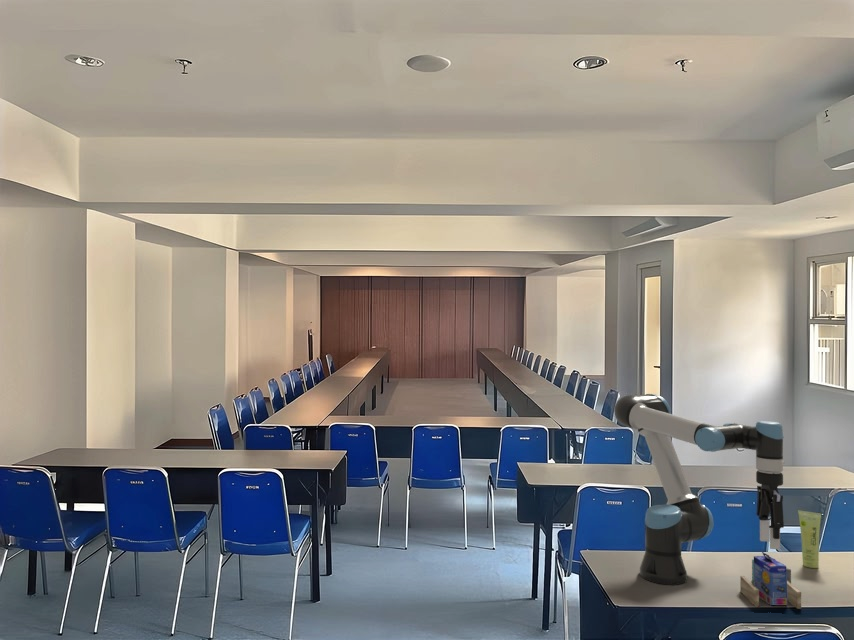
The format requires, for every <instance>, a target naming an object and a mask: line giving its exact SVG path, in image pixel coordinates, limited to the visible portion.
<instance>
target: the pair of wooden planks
mask: <svg viewBox="0 0 854 640" xmlns="http://www.w3.org/2000/svg"><path fill="white" fill-rule="evenodd" d="M739 581H740V588H739V589H740V590H739V591H740V593H741V594H742V595H743V596H744V597H745V598H746V599H747V600H748V601H749V602H750V603H751V604H752V605H753V604H754V605H755V606H754V605H753V606H754V607H758V606H759V607H760V597H759V589H758V588H756V587H755V586H754V583H753V582H751V581H750V580H749V579H748V578H747V577H746V576H745V575H740V580H739ZM787 597H788V602H789V601H790V602H791V603H792V604H791V603H790V602H789V603H790V604H791V605H792V606H794V605H795V606H794V607H795V608H796V609H797V610H798V609H799V610H801V609H802V591H801V590H799V589H798V588H797V587H795V585H793V583H792V582H791V583H790V582H788V581H787Z"/></svg>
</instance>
